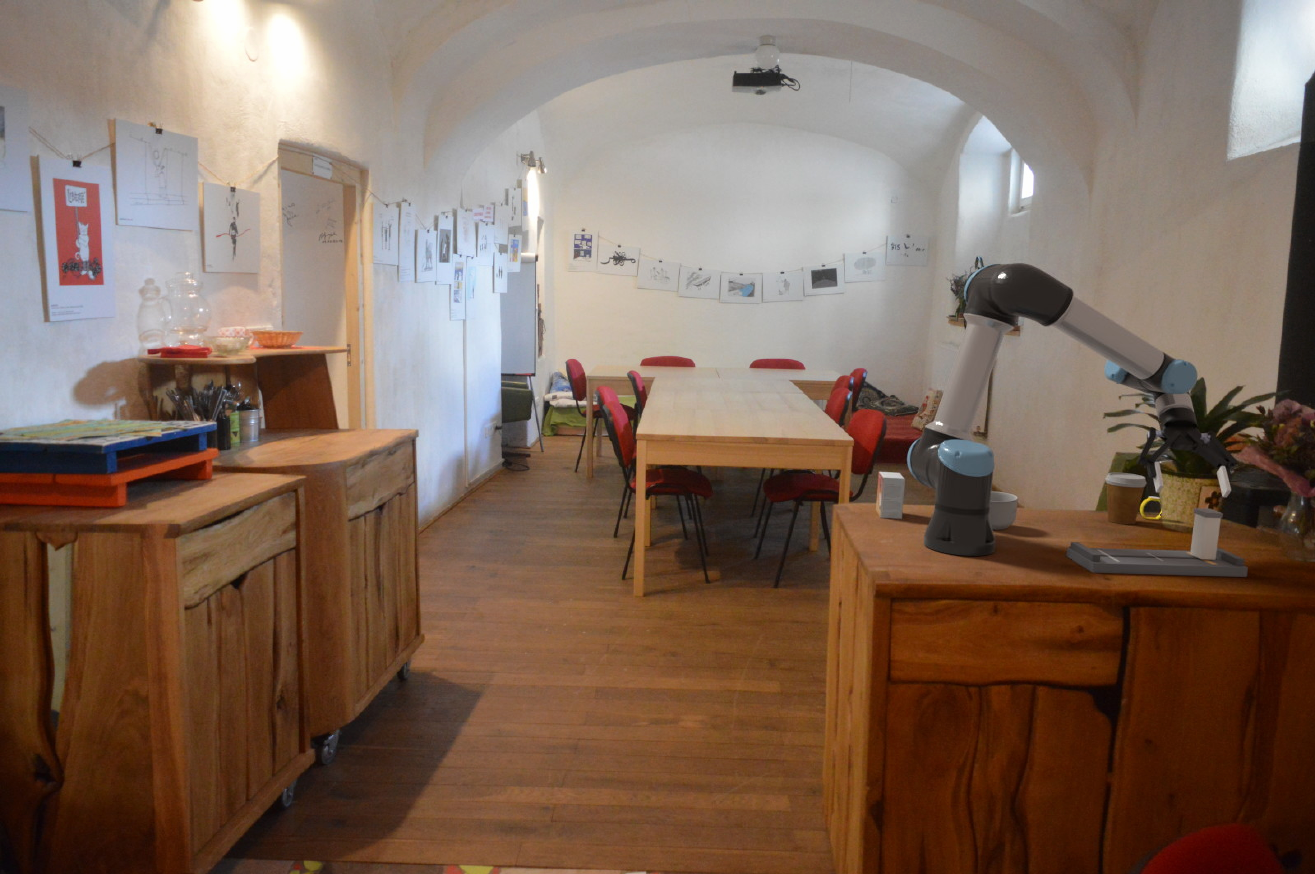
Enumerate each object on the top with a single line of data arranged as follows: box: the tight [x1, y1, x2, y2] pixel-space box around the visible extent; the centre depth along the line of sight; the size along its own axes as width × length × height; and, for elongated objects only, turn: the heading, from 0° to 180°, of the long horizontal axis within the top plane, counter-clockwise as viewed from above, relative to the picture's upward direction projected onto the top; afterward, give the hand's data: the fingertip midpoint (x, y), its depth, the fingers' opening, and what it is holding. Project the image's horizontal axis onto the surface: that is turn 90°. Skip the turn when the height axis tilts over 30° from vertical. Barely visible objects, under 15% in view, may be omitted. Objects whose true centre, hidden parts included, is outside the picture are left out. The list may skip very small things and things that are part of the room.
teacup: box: [989, 490, 1019, 531], centre depth 226 cm, size 14×11×8 cm
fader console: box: [1065, 541, 1249, 578], centre depth 194 cm, size 32×12×4 cm, turn 90°
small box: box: [875, 471, 906, 520], centre depth 233 cm, size 8×6×10 cm
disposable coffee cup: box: [1104, 472, 1148, 525], centre depth 234 cm, size 10×10×12 cm
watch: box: [1139, 495, 1162, 521], centre depth 238 cm, size 6×3×6 cm, turn 89°
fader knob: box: [1190, 507, 1224, 560], centre depth 193 cm, size 3×4×10 cm
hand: (1193, 491), depth 200 cm, fingers open, 13 cm apart
